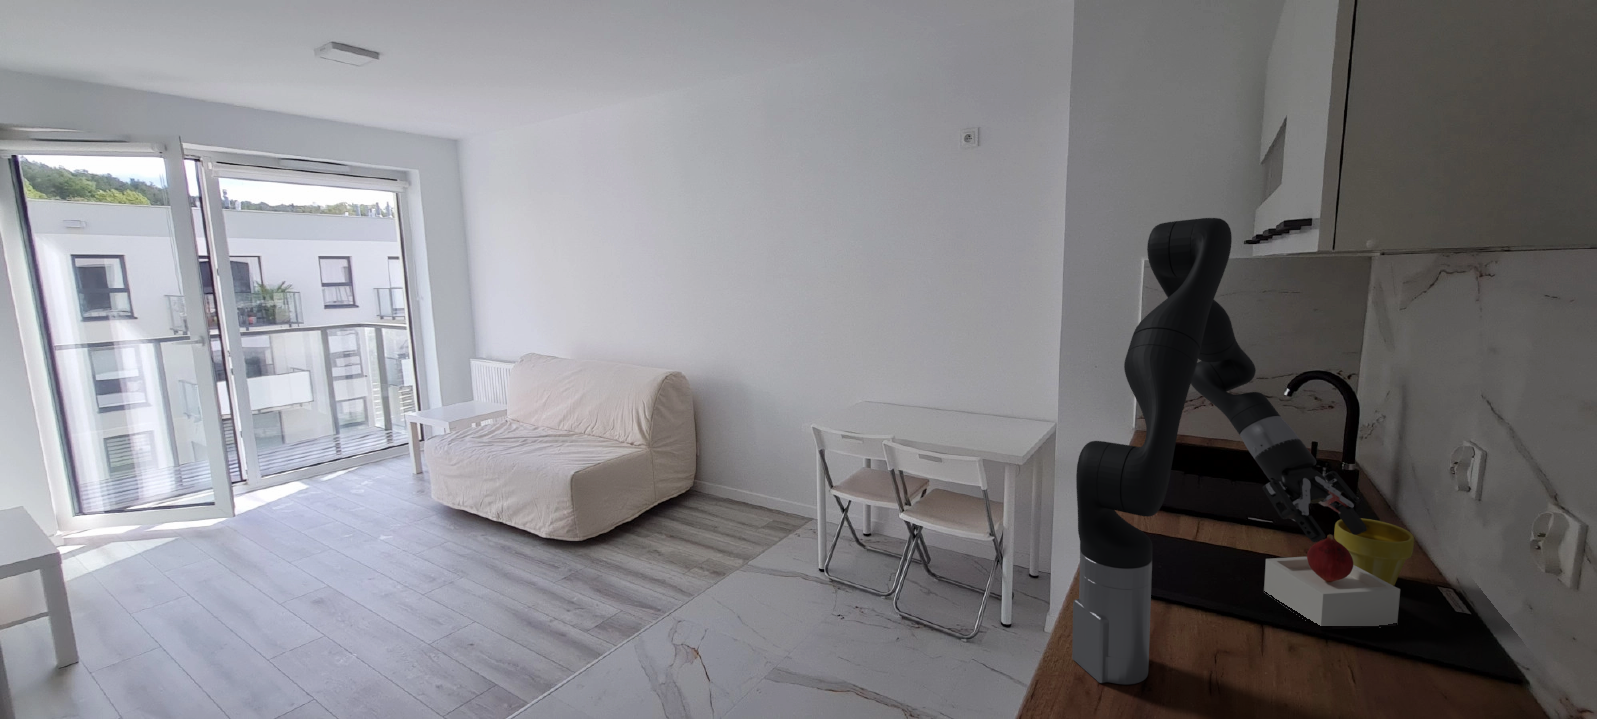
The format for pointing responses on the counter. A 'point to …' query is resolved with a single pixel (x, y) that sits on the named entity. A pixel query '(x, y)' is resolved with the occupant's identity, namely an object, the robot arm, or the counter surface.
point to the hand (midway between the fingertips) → (1340, 536)
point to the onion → (1330, 559)
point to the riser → (1332, 594)
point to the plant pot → (1377, 548)
